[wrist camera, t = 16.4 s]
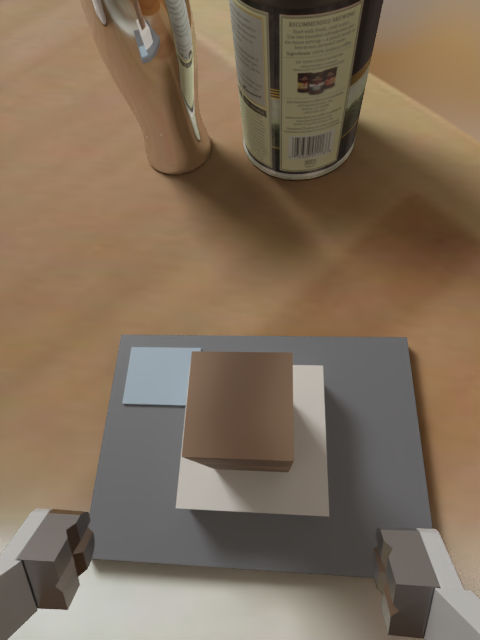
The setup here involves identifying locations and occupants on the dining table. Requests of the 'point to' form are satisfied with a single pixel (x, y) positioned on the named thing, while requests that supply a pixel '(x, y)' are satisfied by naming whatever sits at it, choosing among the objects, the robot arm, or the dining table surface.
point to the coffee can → (302, 80)
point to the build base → (265, 538)
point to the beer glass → (155, 74)
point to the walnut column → (240, 411)
